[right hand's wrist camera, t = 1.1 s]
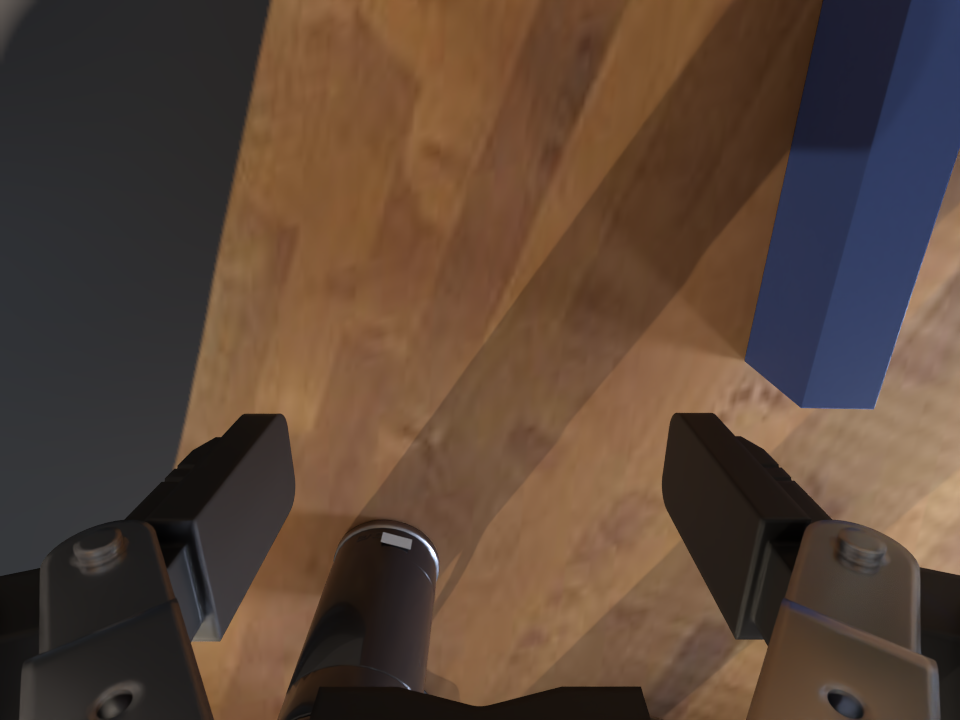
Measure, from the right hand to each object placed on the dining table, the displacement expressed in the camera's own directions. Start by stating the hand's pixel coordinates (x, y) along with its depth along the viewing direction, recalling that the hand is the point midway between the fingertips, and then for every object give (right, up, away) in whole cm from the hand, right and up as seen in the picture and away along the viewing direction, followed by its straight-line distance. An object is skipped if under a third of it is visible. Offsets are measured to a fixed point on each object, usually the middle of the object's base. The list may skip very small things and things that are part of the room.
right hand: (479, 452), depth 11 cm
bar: (+23, +14, +26) cm, 37 cm away
